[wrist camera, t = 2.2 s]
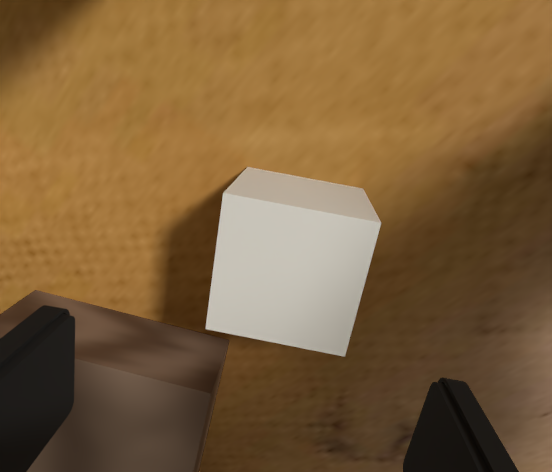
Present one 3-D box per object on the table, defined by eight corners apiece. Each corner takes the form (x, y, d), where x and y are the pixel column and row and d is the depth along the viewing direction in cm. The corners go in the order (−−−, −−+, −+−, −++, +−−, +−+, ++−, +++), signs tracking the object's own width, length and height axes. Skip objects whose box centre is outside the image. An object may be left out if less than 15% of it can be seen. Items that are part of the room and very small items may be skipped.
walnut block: (230, 336, 25) (211, 393, 20) (192, 498, 29) (169, 575, 25) (39, 287, 25) (-26, 332, 20) (31, 456, 29) (-23, 525, 25)
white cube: (362, 188, 21) (381, 222, 15) (337, 291, 23) (344, 356, 17) (247, 166, 21) (223, 192, 15) (231, 271, 23) (205, 328, 17)
